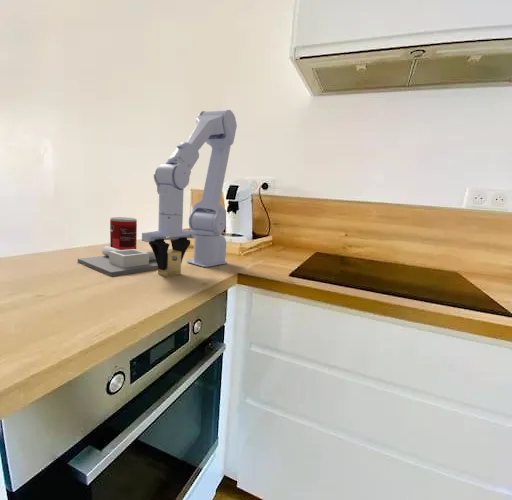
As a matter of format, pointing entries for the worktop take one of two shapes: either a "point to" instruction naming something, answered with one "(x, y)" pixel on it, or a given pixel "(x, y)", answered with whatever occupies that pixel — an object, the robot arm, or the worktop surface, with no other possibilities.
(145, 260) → the shaft board
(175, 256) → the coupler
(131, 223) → the canned food
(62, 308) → the worktop surface
